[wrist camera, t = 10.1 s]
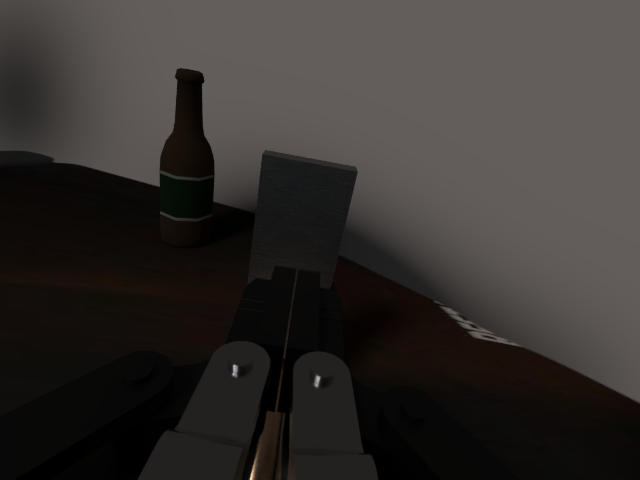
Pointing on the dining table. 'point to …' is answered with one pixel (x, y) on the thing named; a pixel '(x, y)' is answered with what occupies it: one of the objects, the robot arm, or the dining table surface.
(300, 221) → the grey l-shaped bracket
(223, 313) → the dining table surface
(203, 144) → the beer bottle
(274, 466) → the pipe
